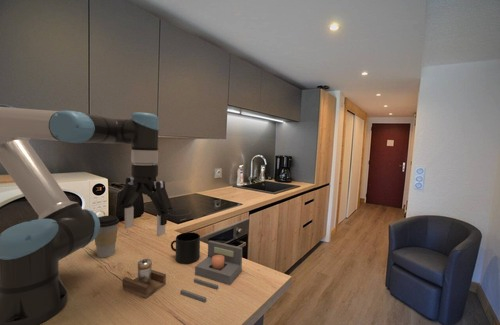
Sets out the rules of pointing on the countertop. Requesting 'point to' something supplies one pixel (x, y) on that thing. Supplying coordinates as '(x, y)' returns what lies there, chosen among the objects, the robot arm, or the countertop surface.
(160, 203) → the robot arm
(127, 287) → the trough
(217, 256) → the test button
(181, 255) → the mug
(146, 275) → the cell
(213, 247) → the grey blocks and bars
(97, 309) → the countertop surface
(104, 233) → the coffee cup
